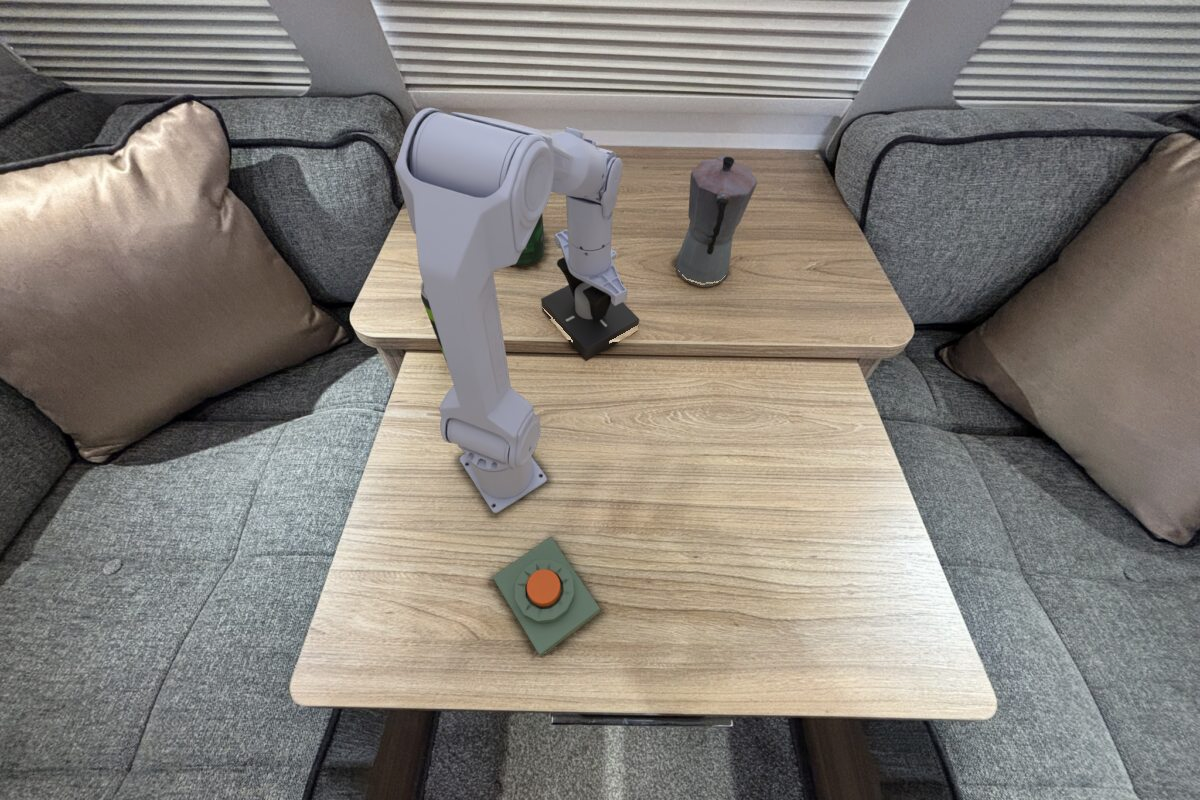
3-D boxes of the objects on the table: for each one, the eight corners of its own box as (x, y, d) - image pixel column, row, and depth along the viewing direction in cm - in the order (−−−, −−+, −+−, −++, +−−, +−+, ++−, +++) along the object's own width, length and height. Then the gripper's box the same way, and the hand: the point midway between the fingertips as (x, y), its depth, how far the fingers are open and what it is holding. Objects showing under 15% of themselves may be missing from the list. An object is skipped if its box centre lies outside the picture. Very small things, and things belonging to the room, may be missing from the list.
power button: (522, 585, 59) (520, 582, 57) (549, 566, 60) (548, 562, 58) (539, 613, 57) (538, 610, 56) (567, 593, 58) (566, 590, 57)
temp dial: (569, 305, 81) (568, 288, 78) (593, 293, 83) (593, 275, 79) (586, 324, 79) (585, 306, 76) (609, 311, 81) (610, 293, 78)
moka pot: (729, 242, 94) (760, 134, 77) (732, 308, 86) (767, 203, 69) (675, 238, 94) (694, 129, 77) (673, 303, 86) (693, 197, 69)
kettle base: (495, 581, 62) (489, 572, 59) (552, 542, 65) (550, 531, 62) (540, 657, 58) (537, 653, 55) (600, 612, 61) (600, 605, 57)
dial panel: (542, 311, 85) (540, 298, 82) (593, 285, 88) (593, 271, 85) (585, 361, 80) (585, 348, 77) (638, 331, 83) (639, 318, 80)
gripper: (648, 255, 67) (639, 325, 79) (583, 194, 73) (584, 267, 85) (603, 278, 65) (601, 346, 77) (539, 214, 71) (546, 286, 83)
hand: (589, 306), depth 81 cm, fingers closed on temp dial, 4 cm apart
